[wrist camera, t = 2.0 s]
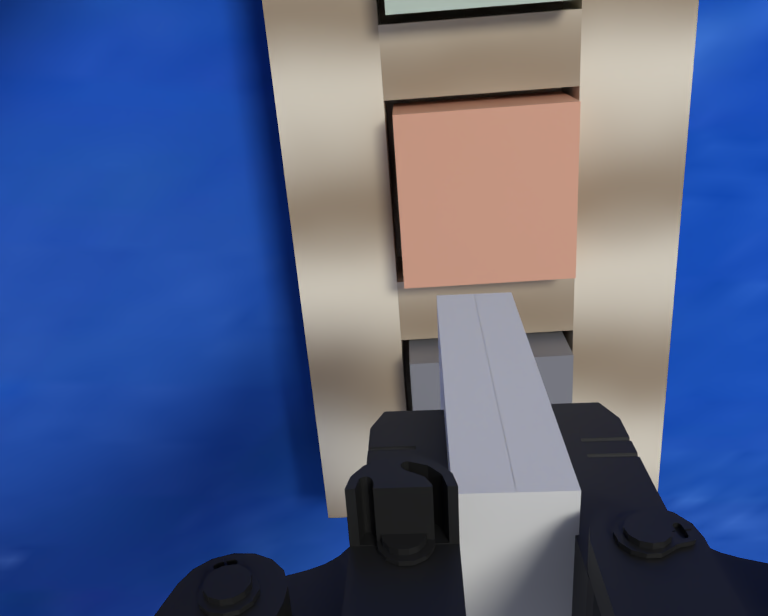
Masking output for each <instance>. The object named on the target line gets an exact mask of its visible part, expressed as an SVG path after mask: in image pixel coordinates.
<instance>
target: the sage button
mask: <svg viewBox="0 0 768 616" xmlns="http://www.w3.org/2000/svg"><path fill="white" fill-rule="evenodd" d="M553 1H565V0H384V2H385V15H393V14H405V13H417V12H430V11H442V10H454V9H467V8H479V7H491V6H503V5H516V4H528V3H540V2H553Z"/></svg>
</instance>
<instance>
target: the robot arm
mask: <svg viewBox="0 0 768 616" xmlns="http://www.w3.org/2000/svg"><path fill="white" fill-rule="evenodd" d="M437 320H438V348H439V376H440V403H441V410H416V411H386V412H384V413H383V414H382V415H381V416H380V417H379V419H378V420H377V421H376V422H375V423H374V424H373V426H372V427H371V428H370V435H369V445H368V454H367V465H364V466H363V467H361V468H360V469H359V470H358V471H356V472H355V473H354V474H353V475H352V476H350V478H349V481H348V483H347V485H346V487H345V489H344V490H345V500H346V510H347V521H348V531H349V541H350V547H349V548H348V549H347V550H345V551H344V552H343V553H342V554H341V555H340V556H339V557H337V558H335V559H333V560H332V561H330V562H328V563H326V564H324V565H321V566H318V567H316V568H313V569H310V570H306V571H303V572H299V573H295V574H292V575H288V576H285V573H284V570H283V569H282V568H281V567H280V566H279V565H278V564H276V563H275V562H274V561H273V560H272V559H269V558H266V557H263V556H260V555H257V554H239V553H234V554H230V555H226V556H222V557H218V558H214V559H211V560H209V561H208V562H206V563H204V564H202V565H200V566H198V567H196V568H195V569H193V570H192V571H191V572H190V573H189V574H188V575H187V576H186V577H184V578H183V579H182V580H181V581H180V582H179V583H178V584H177V586H176V587H175V588H174V590H173V591H172V592H171V594H170V595H169V597H168V598H167V599H166V601H165V602H164V603H163V605H162V606H161V607H160V609H159V610H158V611H157V613H156V614H155V615H154V616H768V563H763V562H758V561H753V560H748V559H743V558H738V557H735V556H731V555H727V554H723V553H720V552H718V551H716V550H713V549H711V548H710V547H709V546H708V544H707V542H706V540H705V538H704V537H703V536H702V535H701V533H700V532H699V531H698V530H697V529H696V528H695V527H694V525H693V524H692V523H690V522H688V521H687V520H685V519H684V518H682V517H680V516H679V515H677V514H675V513H673V512H670V511H667V509H666V507H665V505H664V503H663V501H662V499H661V497H660V496H659V494H658V492H657V490H656V488H655V486H654V484H653V482H652V480H651V478H650V476H649V474H648V472H647V470H646V468H645V466H644V464H643V462H642V460H641V458H640V457H638V453H637V451H636V449H635V447H634V445H633V443H632V441H630V437H629V435H628V433H627V431H626V429H625V427H624V425H623V423H622V421H621V419H620V418H619V417H618V416H616V415H615V414H614V413H612V412H611V411H610V410H608V409H607V408H606V407H604V406H603V405H602V404H600V403H599V402H591V403H561V404H550V401H549V398H548V395H547V392H546V389H545V387H544V384H543V381H542V378H541V375H540V372H539V370H538V367H537V364H536V361H535V358H534V355H533V353H532V350H531V347H530V344H529V341H528V338H527V336H526V333H525V330H524V327H523V324H522V321H521V318H520V316H519V313H518V310H517V307H516V304H515V301H514V299H513V296H512V293H511V292H506V293H483V294H459V295H437Z"/></svg>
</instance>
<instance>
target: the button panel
mask: <svg viewBox="0 0 768 616" xmlns="http://www.w3.org/2000/svg"><path fill="white" fill-rule="evenodd" d="M698 3H699V0H565V1H553V2H540V3H528V4H516V5H503V6H491V7H479V8H467V9H454V10H442V11H430V12H417V13H405V14H393V15H385V2H384V0H262V5H263V12H264V20H265V28H266V36H267V43H268V51H269V59H270V67H271V74H272V82H273V90H274V98H275V105H276V113H277V121H278V129H279V136H280V144H281V152H282V160H283V167H284V175H285V183H286V191H287V198H288V206H289V214H290V222H291V229H292V237H293V245H294V253H295V261H296V268H297V276H298V284H299V292H300V299H301V307H302V315H303V323H304V330H305V338H306V346H307V354H308V361H309V369H310V377H311V385H312V392H313V400H314V408H315V416H316V423H317V431H318V439H319V447H320V454H321V462H322V470H323V478H324V485H325V493H326V501H327V509H328V517H329V518H340V517H347V510H346V500H345V490H344V489H345V487H346V485H347V483H348V481H349V478H350V476H352V475H353V474H354V473H355V472H356V471H358V470H359V469H360V468H361V467H363V466H364V465H367V454H368V445H369V435H370V428H371V427H372V426H373V424H374V423H375V422H376V421H377V420H378V419H379V417H380V416H381V415H382V414H383V413H384V412H386V411H413V406H412V392H411V377H410V358H409V340H413V339H430V338H438V320H437V295H459V294H483V293H506V292H511V293H512V296H513V299H514V301H515V304H516V307H517V310H518V313H519V316H520V318H521V321H522V324H523V327H524V330H525V333H534V332H552V331H562V332H563V334H564V337H565V339H566V341H567V343H568V345H569V347H570V349H571V351H572V353H573V355H574V358H573V394H572V403H591V402H599V403H600V404H602V405H603V406H604V407H606V408H607V409H608V410H610V411H611V412H612V413H614V414H615V415H616V416H618V417H619V418H620V419H621V421H622V423H623V425H624V427H625V429H626V431H627V433H628V435H629V437H630V441H632V443H633V445H634V447H635V449H636V451H637V453H638V457H640V458H641V460H642V462H643V464H644V466H645V468H646V470H647V472H648V474H649V476H650V478H651V480H652V482H653V484H654V486H655V488H656V490H657V492H658V480H659V468H660V456H661V444H662V432H663V421H664V409H665V397H666V385H667V373H668V361H669V349H670V337H671V325H672V313H673V301H674V289H675V278H676V266H677V254H678V242H679V230H680V218H681V206H682V194H683V182H684V170H685V158H686V146H687V135H688V123H689V111H690V99H691V87H692V75H693V63H694V51H695V39H696V27H697V15H698ZM558 91H562V92H564V93H566V94H568V95H570V96H572V97H573V98H575V99H577V100H579V101H581V106H580V142H579V178H578V214H577V250H576V278H571V279H555V280H538V281H522V282H506V283H489V284H473V285H457V286H440V287H424V288H408V289H404V276H403V262H402V247H401V233H400V218H399V204H398V189H397V175H396V161H395V146H394V132H393V117H392V114H393V104H397V103H411V102H424V101H438V100H451V99H464V98H478V97H491V96H504V95H518V94H531V93H545V92H558Z"/></svg>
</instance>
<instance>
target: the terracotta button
mask: <svg viewBox="0 0 768 616" xmlns="http://www.w3.org/2000/svg"><path fill="white" fill-rule="evenodd" d="M580 106H581V101H579V100H577V99H575V98H573V97H572V96H570V95H568V94H566V93H564V92H562V91H558V92H545V93H531V94H518V95H504V96H491V97H478V98H464V99H451V100H438V101H424V102H411V103H397V104H393V114H392V117H393V132H394V146H395V161H396V175H397V189H398V204H399V218H400V233H401V247H402V262H403V276H404V289H408V288H424V287H440V286H457V285H473V284H489V283H506V282H522V281H538V280H555V279H571V278H576V250H577V214H578V178H579V142H580Z"/></svg>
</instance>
